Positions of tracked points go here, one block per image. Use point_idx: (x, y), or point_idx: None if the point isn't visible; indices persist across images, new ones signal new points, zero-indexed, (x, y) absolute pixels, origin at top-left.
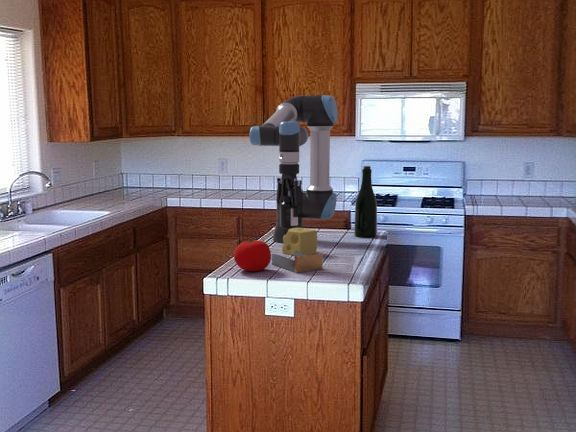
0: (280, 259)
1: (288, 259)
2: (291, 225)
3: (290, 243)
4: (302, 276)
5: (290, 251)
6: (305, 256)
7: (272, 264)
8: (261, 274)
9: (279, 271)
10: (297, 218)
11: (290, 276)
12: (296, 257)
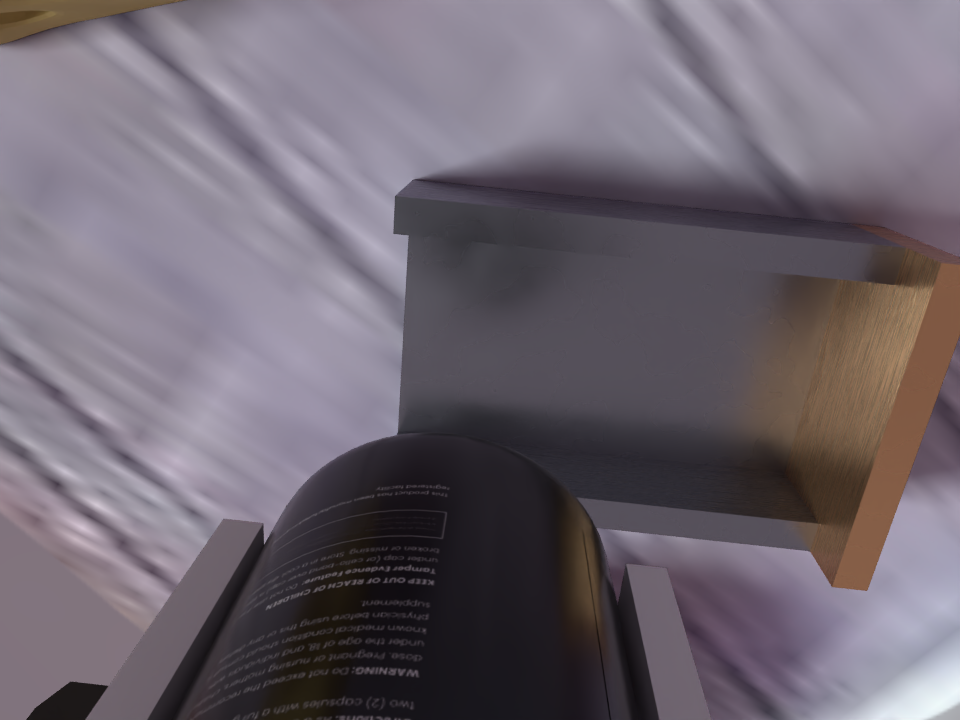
0: None
1: (689, 533)
2: None
3: (2, 10)
4: (916, 523)
5: (68, 17)
6: (897, 491)
7: None
8: None
9: (650, 551)
10: (697, 688)
11: None
12: (862, 587)
